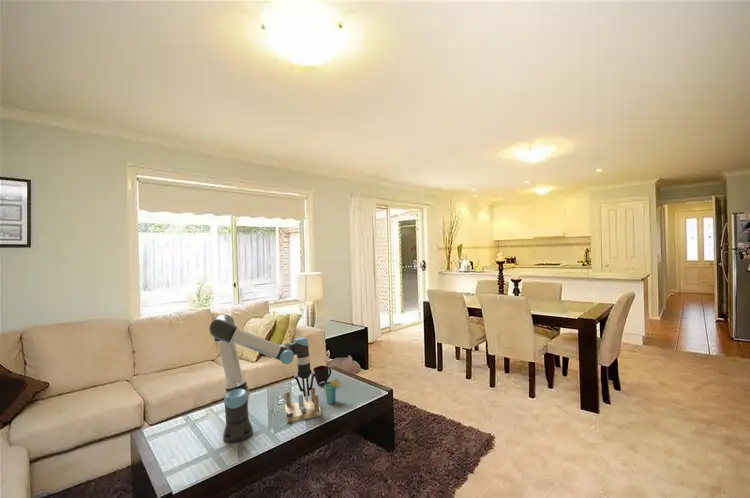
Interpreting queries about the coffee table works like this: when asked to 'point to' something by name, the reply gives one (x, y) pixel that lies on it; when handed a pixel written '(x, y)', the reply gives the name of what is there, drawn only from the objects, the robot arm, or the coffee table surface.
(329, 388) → the cup
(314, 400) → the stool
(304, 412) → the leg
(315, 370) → the mug
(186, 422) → the coffee table surface
